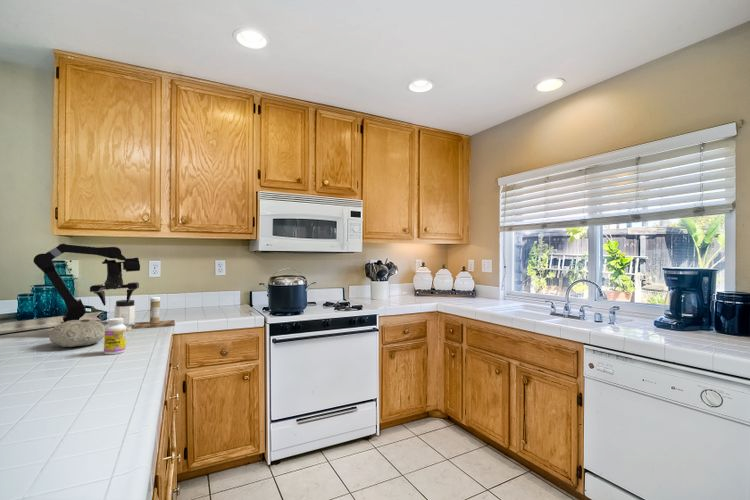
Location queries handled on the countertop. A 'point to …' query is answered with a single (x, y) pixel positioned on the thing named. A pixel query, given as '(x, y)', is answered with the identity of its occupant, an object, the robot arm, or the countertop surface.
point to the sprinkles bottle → (154, 310)
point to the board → (160, 324)
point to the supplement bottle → (115, 337)
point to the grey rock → (77, 333)
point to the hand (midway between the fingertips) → (116, 304)
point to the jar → (125, 311)
